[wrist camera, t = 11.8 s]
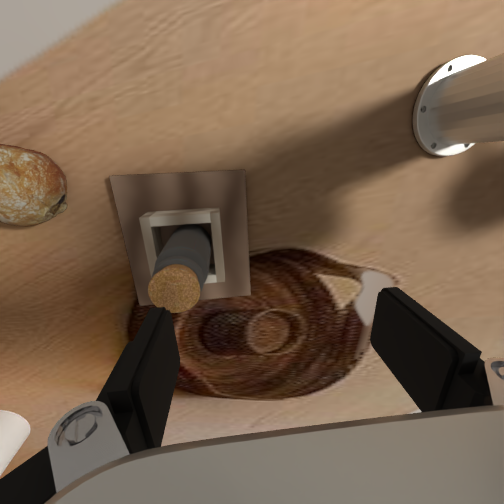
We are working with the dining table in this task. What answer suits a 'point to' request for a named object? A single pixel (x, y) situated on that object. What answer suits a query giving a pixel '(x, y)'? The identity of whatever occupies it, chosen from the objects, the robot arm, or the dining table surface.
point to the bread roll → (29, 187)
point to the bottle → (181, 269)
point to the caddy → (186, 212)
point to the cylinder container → (11, 436)
